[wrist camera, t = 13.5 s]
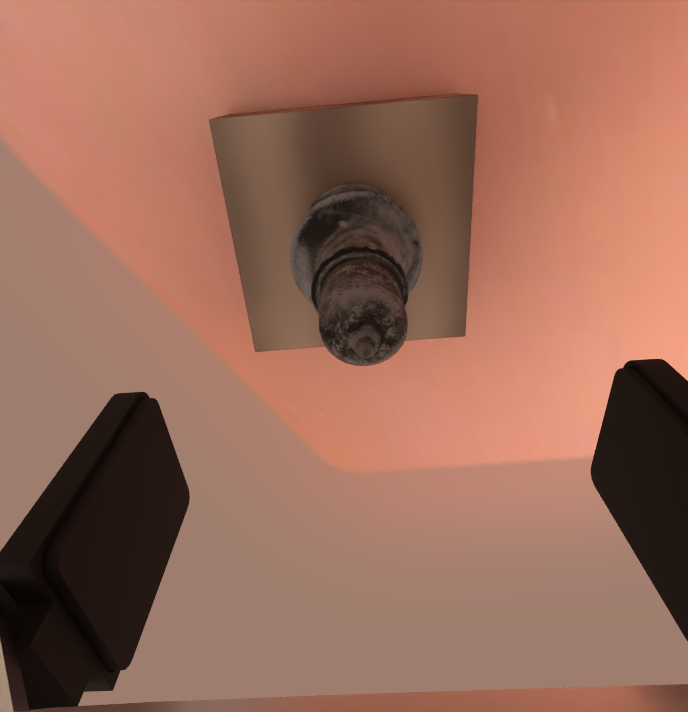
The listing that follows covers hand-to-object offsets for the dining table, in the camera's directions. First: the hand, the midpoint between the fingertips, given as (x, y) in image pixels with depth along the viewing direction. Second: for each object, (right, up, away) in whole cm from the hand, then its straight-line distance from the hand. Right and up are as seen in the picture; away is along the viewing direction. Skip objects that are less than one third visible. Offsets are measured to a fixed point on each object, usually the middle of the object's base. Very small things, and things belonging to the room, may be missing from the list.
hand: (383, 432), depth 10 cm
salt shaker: (0, +8, +14) cm, 16 cm away
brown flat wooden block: (-1, +9, +18) cm, 20 cm away
